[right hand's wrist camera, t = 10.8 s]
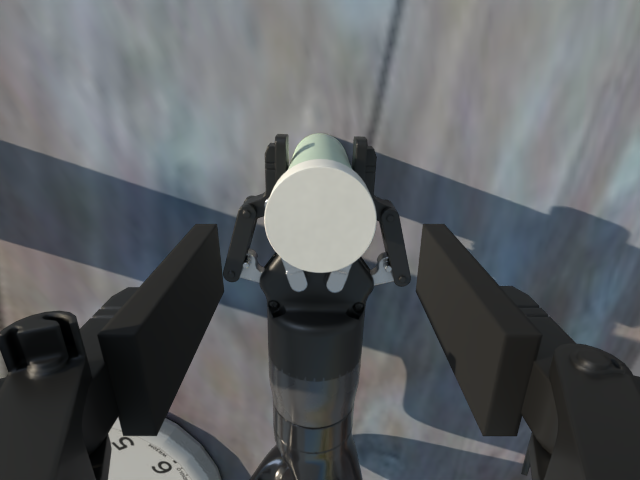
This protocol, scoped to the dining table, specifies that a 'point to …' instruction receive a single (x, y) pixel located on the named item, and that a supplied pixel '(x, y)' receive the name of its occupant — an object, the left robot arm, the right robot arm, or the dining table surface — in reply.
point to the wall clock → (159, 456)
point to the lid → (320, 216)
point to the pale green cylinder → (319, 150)
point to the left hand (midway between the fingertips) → (320, 138)
